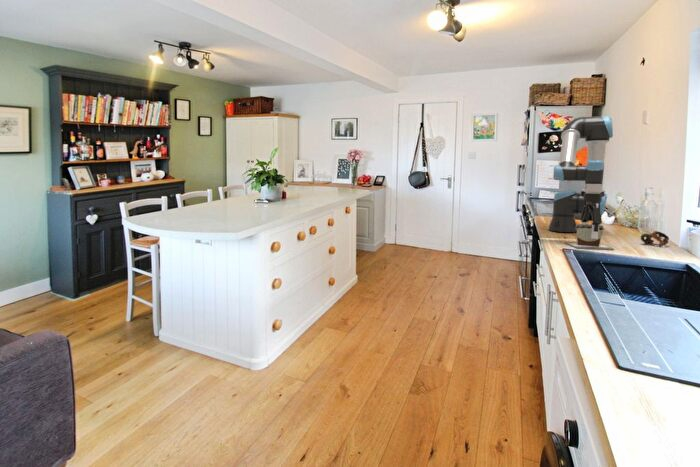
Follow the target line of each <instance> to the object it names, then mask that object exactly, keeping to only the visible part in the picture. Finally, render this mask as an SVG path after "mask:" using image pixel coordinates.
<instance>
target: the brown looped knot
mask: <svg viewBox="0 0 700 467" xmlns="http://www.w3.org/2000/svg"><path fill="white" fill-rule="evenodd" d="M662 238H663V239H662ZM653 239H654V240H653ZM640 240H641V241H642V242H643V244H645V245H648V244H653V243H654V241H655V240H656V241H658V242H659V244H657V245H658V247H659V248H661V247H663V246H665V245H666V246H667V244H668V243H669V240H670V237H669V236H668V235H667V234H665V233H663V232H661V231H658V230H656V231H655V230H654V231H653V232H652V233H649V234H648V233H642V234H641V236H640Z"/></svg>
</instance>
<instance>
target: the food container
mask: <svg viewBox="0 0 700 467" xmlns="http://www.w3.org/2000/svg"><path fill="white" fill-rule="evenodd" d="M576 225H577V226H576V227H575V229H577V232H576V243H577V245H582V246H593V247H599V245H600V244H601V240H602V235H603V231H605V227H604V225H601V224H600V225H599V231H598V239H594V238H591V233H592V224H589V223H588V224H582V223H581V224H578V223H576Z"/></svg>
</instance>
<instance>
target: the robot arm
mask: <svg viewBox="0 0 700 467" xmlns="http://www.w3.org/2000/svg"><path fill="white" fill-rule="evenodd" d="M613 134H614V133H613V119H612V117H611V116H610V115H600V116H599V115H598V116H596V115H595V116H580V117H577V118H574V119H572V120H571V121H569V122H568V123H567V124H566V125H565V126H564V127H563V129H562V130H561V133H560V139H561V141H562V142H561V148H560V156H559V163H558V165H555V166H554V168H553V175H552V176H553V177H552V178H553V180H554V181H561V182H564V181H570V182H571V181H572V182H573V181H574V182H576V181H577V182H578V181H579V182H580V181H581V182H584V186H583V188H582V189H581V190H580V192H578V191H577V190H570V191H562V192H561V191H560V192H556V193H555V194H554V197H553V209H552V218H551V220H550V222H549V225H548V229H547V230H548V231H550V232H561V233H562V232H563V233H577V229H575V227H576V226H577V223H576V218H575V216H576V214H579V215H580V214H581V215H580V218H579V219H580V221H581V224H588V225H589V222H590V220H589V218H590V217H591V220H592V223H591V225H592V233H591V238H594V239H598V231H599V225H600V226H601V224H602V214H603V213H604V211H605V207H606V203H607V198H608V194H606V193H605V190H604V188H603V185H604V184H603V182H604V173H605V172H604V171H605V156H606V155H605V154H606V145H607V144H608V143H609V142H610V139H612V138H613V136H614V135H613ZM580 139H584V140H585V143H586V144H587V154H586V163H585V164H586V165H576V160H577V152H578V142H579V140H580Z"/></svg>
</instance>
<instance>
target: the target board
mask: <svg viewBox="0 0 700 467" xmlns="http://www.w3.org/2000/svg"><path fill="white" fill-rule="evenodd" d="M564 244H565V245H567V246H568V247H569V246H570V247H573V248H574V249H576V250H596V251H597V250H599V251H600V250H602V251H614V250H615V248H612V247H609V246H608V245H603V244H601V243H600V245H599V247H593V246H582V245H577V242H564Z"/></svg>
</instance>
